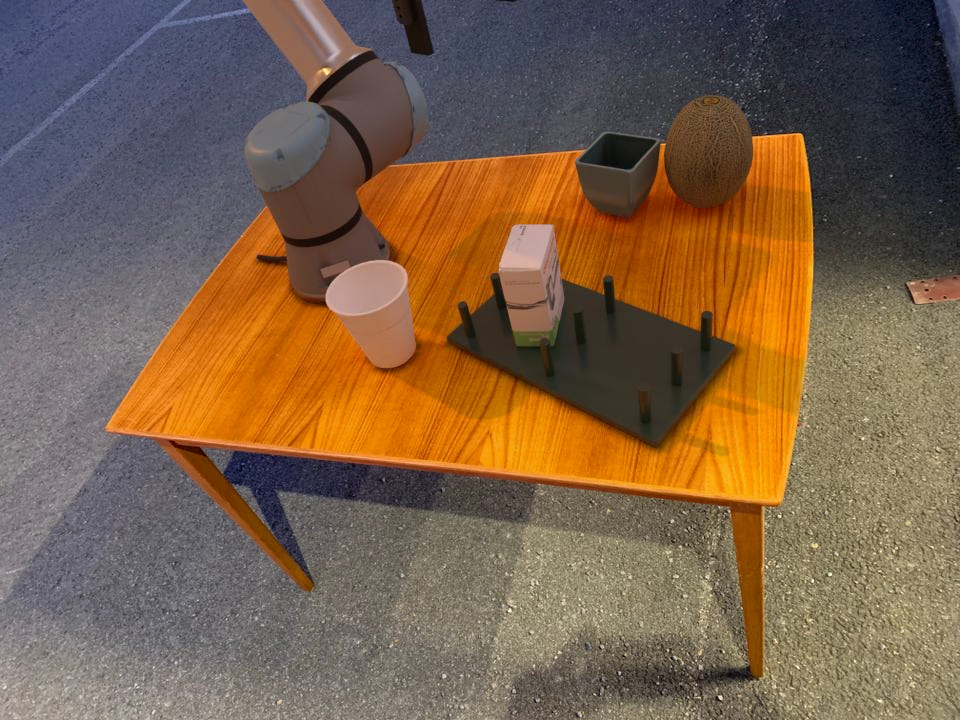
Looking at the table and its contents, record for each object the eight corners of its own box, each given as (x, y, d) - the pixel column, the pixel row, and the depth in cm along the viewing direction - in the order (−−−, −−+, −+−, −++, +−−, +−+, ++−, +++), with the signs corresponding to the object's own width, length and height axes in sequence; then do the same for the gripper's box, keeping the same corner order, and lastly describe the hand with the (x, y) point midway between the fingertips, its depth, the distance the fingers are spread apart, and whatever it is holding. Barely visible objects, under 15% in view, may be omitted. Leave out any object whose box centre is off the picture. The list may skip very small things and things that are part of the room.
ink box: (555, 348, 81) (541, 269, 73) (514, 347, 83) (496, 270, 75) (565, 299, 87) (554, 221, 79) (527, 299, 88) (512, 222, 80)
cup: (342, 354, 90) (311, 289, 82) (405, 315, 93) (380, 249, 85) (379, 394, 83) (349, 328, 76) (446, 350, 86) (423, 282, 79)
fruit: (751, 223, 92) (760, 117, 81) (663, 226, 95) (661, 125, 84) (747, 175, 99) (755, 73, 89) (666, 180, 102) (664, 82, 92)
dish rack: (447, 342, 87) (436, 307, 83) (527, 270, 94) (520, 234, 90) (656, 448, 70) (655, 410, 66) (735, 350, 77) (738, 310, 73)
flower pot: (608, 184, 105) (604, 129, 98) (663, 194, 100) (662, 137, 94) (579, 217, 100) (572, 161, 94) (635, 229, 96) (632, 172, 89)
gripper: (331, -192, 52) (408, 82, 67) (538, -270, 63) (565, -18, 77) (275, -184, 56) (359, 72, 71) (477, -258, 67) (514, -22, 82)
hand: (466, 25), depth 74 cm, fingers open, 13 cm apart
